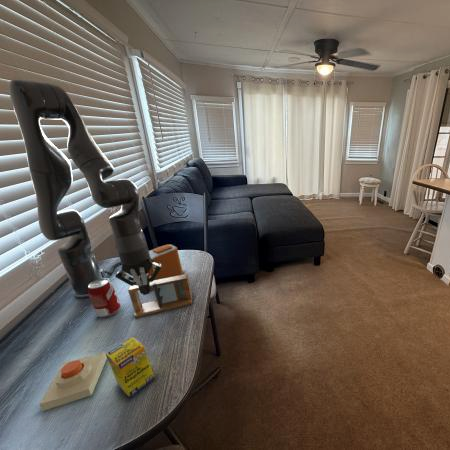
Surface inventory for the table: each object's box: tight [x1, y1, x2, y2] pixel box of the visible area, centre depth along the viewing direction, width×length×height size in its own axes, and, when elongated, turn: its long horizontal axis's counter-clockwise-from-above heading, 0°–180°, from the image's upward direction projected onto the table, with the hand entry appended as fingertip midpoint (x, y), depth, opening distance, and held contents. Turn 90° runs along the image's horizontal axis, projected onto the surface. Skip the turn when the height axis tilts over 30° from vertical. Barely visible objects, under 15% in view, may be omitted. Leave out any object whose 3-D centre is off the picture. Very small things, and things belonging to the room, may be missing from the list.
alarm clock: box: [148, 243, 184, 290], centre depth 101 cm, size 15×8×14 cm, turn 144°
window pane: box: [152, 283, 180, 308], centre depth 83 cm, size 5×7×11 cm
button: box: [60, 359, 83, 378], centre depth 59 cm, size 4×4×2 cm
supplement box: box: [105, 336, 155, 399], centre depth 58 cm, size 6×6×11 cm
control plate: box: [39, 351, 108, 411], centre depth 59 cm, size 11×9×4 cm
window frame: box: [127, 273, 193, 318], centre depth 85 cm, size 6×18×10 cm, turn 112°
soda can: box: [88, 277, 121, 318], centre depth 82 cm, size 7×7×12 cm
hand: (146, 293), depth 79 cm, fingers closed
